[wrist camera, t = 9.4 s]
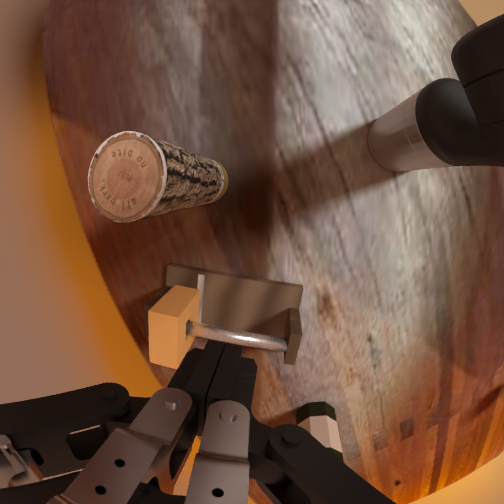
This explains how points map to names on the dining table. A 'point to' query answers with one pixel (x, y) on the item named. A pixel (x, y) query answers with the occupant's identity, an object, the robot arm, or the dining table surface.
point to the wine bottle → (321, 425)
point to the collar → (172, 325)
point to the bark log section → (151, 178)
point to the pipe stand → (239, 309)
